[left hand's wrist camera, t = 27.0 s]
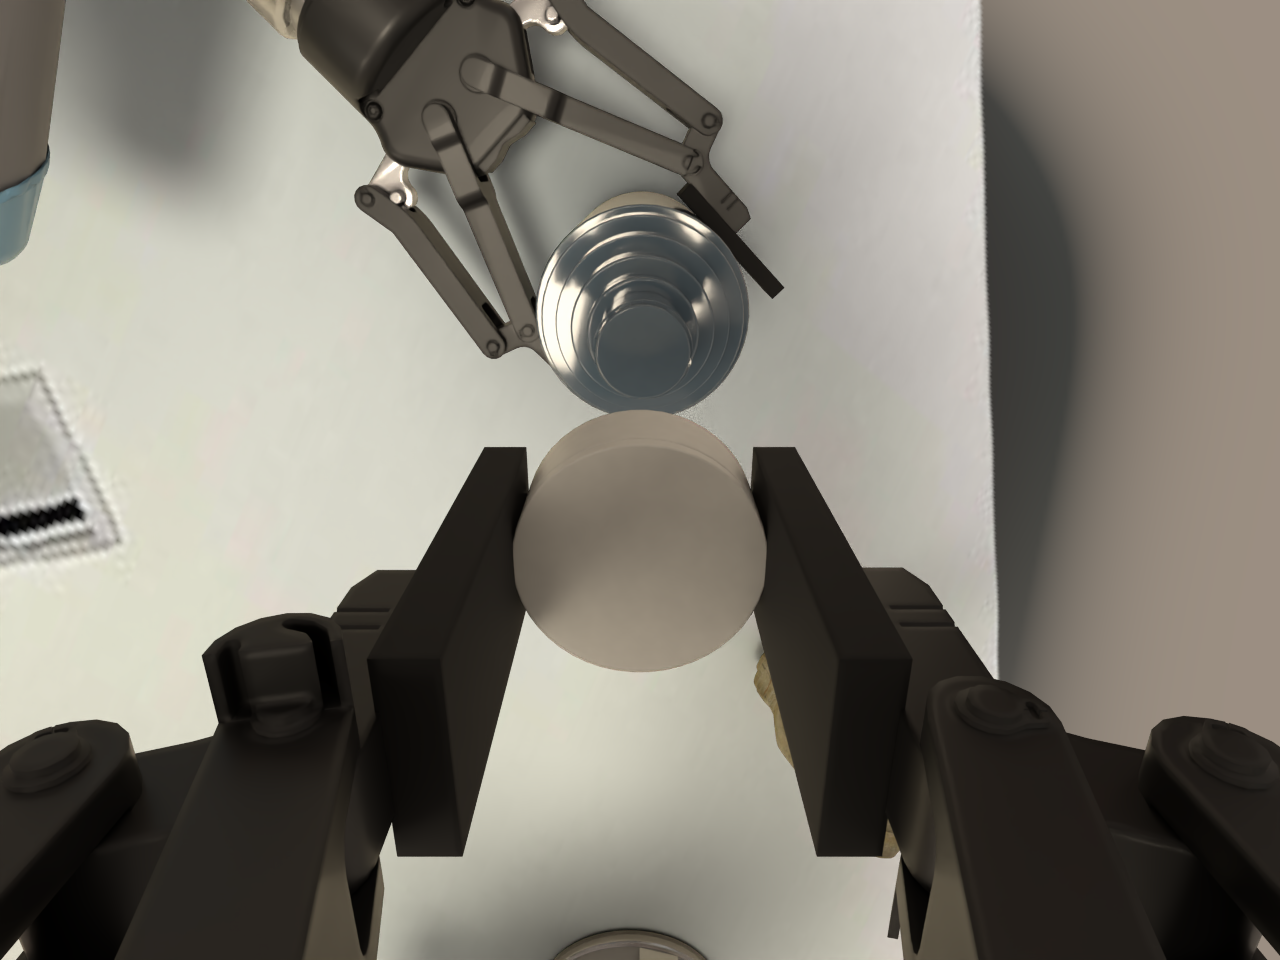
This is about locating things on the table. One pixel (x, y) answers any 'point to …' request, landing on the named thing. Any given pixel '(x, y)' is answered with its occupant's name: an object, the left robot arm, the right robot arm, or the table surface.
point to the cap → (639, 543)
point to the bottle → (642, 307)
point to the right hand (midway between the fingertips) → (706, 351)
